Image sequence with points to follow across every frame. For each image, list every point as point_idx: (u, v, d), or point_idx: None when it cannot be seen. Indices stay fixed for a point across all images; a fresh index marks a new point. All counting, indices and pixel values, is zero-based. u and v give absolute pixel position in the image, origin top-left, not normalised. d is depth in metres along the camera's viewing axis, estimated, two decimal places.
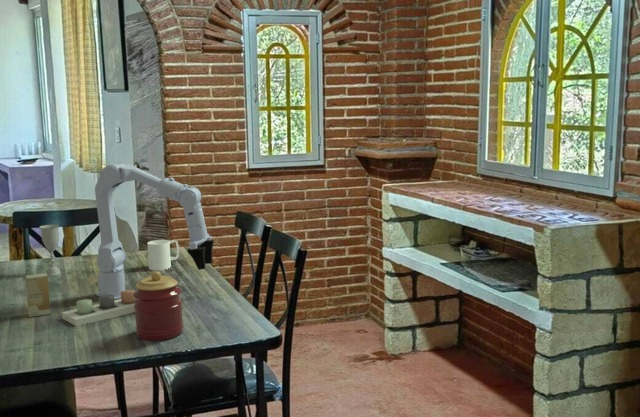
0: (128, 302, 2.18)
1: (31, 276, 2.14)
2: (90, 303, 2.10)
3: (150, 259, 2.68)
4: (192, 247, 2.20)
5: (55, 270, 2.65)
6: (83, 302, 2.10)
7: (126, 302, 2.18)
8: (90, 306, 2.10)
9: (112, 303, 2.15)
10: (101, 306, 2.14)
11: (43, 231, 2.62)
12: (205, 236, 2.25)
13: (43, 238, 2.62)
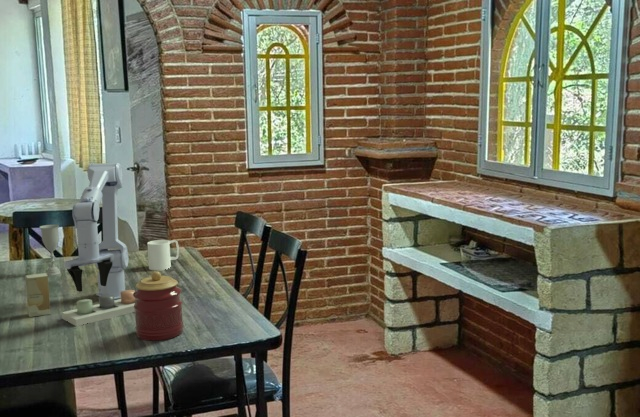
0: (128, 302, 2.18)
1: (31, 276, 2.14)
2: (90, 303, 2.10)
3: (150, 259, 2.68)
4: (65, 266, 2.03)
5: (55, 270, 2.65)
6: (83, 302, 2.10)
7: (126, 302, 2.18)
8: (90, 306, 2.10)
9: (112, 303, 2.15)
10: (101, 306, 2.14)
11: (43, 231, 2.62)
12: (89, 257, 2.05)
13: (43, 238, 2.62)
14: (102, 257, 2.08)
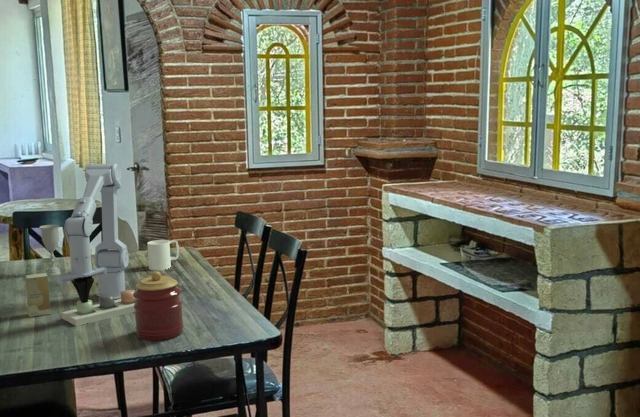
0: (128, 302, 2.18)
1: (31, 276, 2.14)
2: (90, 303, 2.10)
3: (150, 259, 2.68)
4: (57, 280, 2.05)
5: (55, 270, 2.65)
6: None
7: (126, 302, 2.18)
8: (90, 306, 2.10)
9: (112, 303, 2.15)
10: (101, 306, 2.14)
11: (43, 231, 2.62)
12: (81, 272, 2.06)
13: (43, 238, 2.62)
14: (94, 271, 2.10)
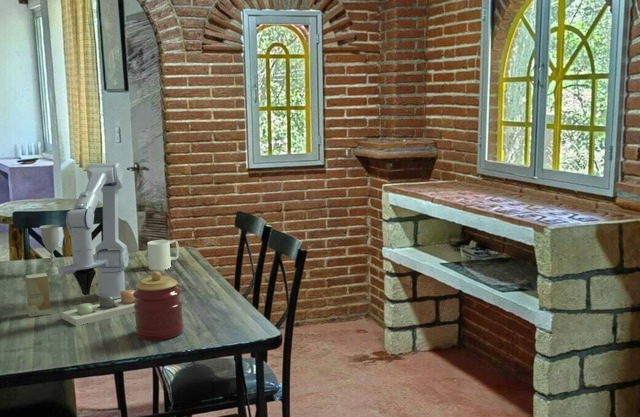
0: (128, 302, 2.18)
1: (31, 276, 2.14)
2: (90, 307, 2.10)
3: (150, 259, 2.68)
4: (59, 272, 2.05)
5: (55, 270, 2.65)
6: (84, 306, 2.10)
7: (126, 302, 2.18)
8: (90, 310, 2.10)
9: (112, 303, 2.15)
10: (101, 306, 2.14)
11: (43, 231, 2.62)
12: (83, 264, 2.06)
13: (43, 238, 2.62)
14: (96, 263, 2.10)
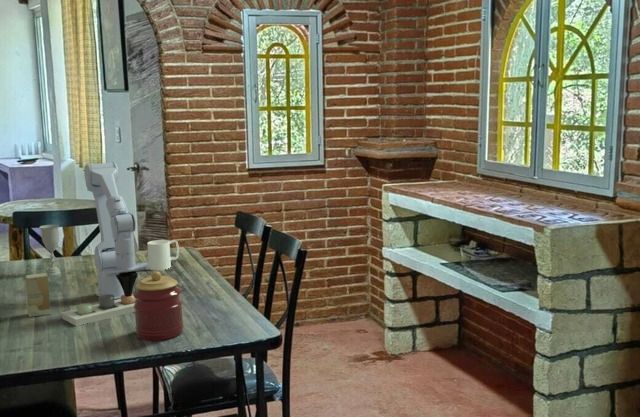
0: None
1: (31, 276, 2.14)
2: (90, 307, 2.10)
3: (150, 259, 2.68)
4: (103, 275, 2.14)
5: (55, 270, 2.65)
6: (84, 306, 2.10)
7: None
8: (90, 310, 2.10)
9: (112, 303, 2.15)
10: (101, 306, 2.14)
11: (43, 231, 2.62)
12: (126, 267, 2.16)
13: (43, 238, 2.62)
14: (138, 266, 2.19)
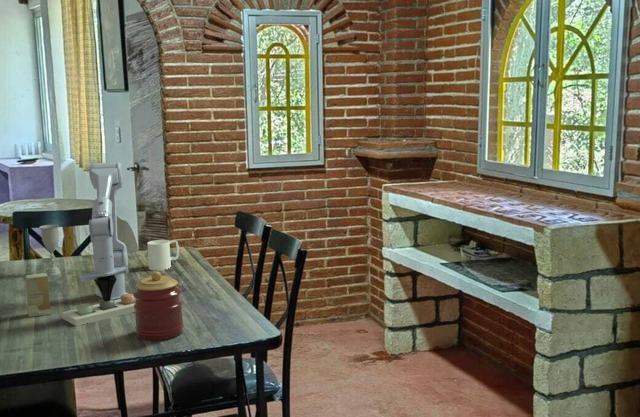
0: None
1: (31, 276, 2.14)
2: (90, 307, 2.10)
3: (150, 259, 2.68)
4: (81, 279, 2.09)
5: (55, 270, 2.65)
6: (84, 306, 2.10)
7: None
8: (90, 310, 2.10)
9: (112, 307, 2.15)
10: None
11: (43, 231, 2.62)
12: (104, 271, 2.11)
13: (43, 238, 2.62)
14: (117, 270, 2.14)
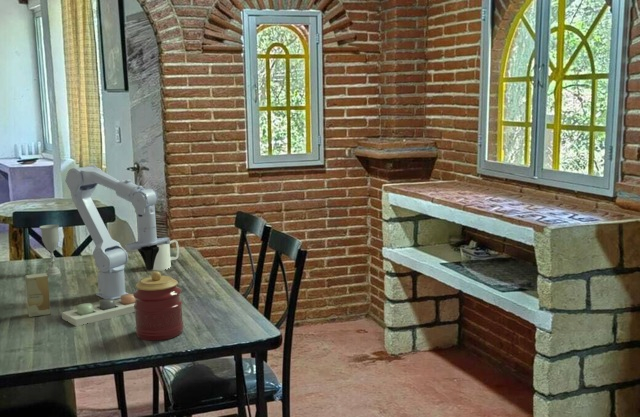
0: None
1: (31, 276, 2.14)
2: (90, 307, 2.10)
3: None
4: (126, 248, 2.20)
5: (55, 270, 2.65)
6: (84, 306, 2.10)
7: None
8: (90, 310, 2.10)
9: (112, 307, 2.15)
10: None
11: (43, 231, 2.62)
12: (148, 241, 2.22)
13: (43, 238, 2.62)
14: (159, 241, 2.25)
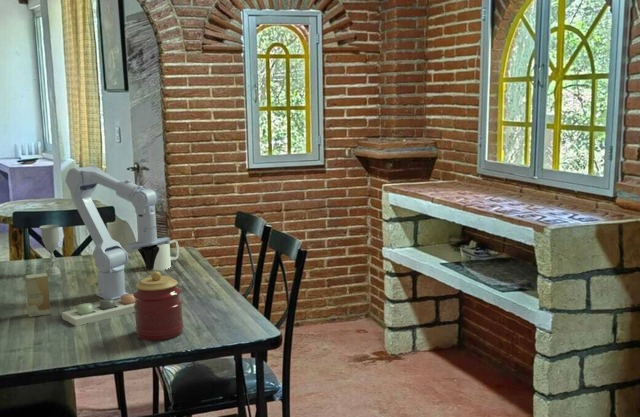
0: None
1: (31, 276, 2.14)
2: (90, 307, 2.10)
3: None
4: (126, 248, 2.20)
5: (55, 270, 2.65)
6: (84, 306, 2.10)
7: None
8: (90, 310, 2.10)
9: (112, 307, 2.15)
10: None
11: (43, 231, 2.62)
12: (148, 241, 2.22)
13: (43, 238, 2.62)
14: (160, 241, 2.25)
